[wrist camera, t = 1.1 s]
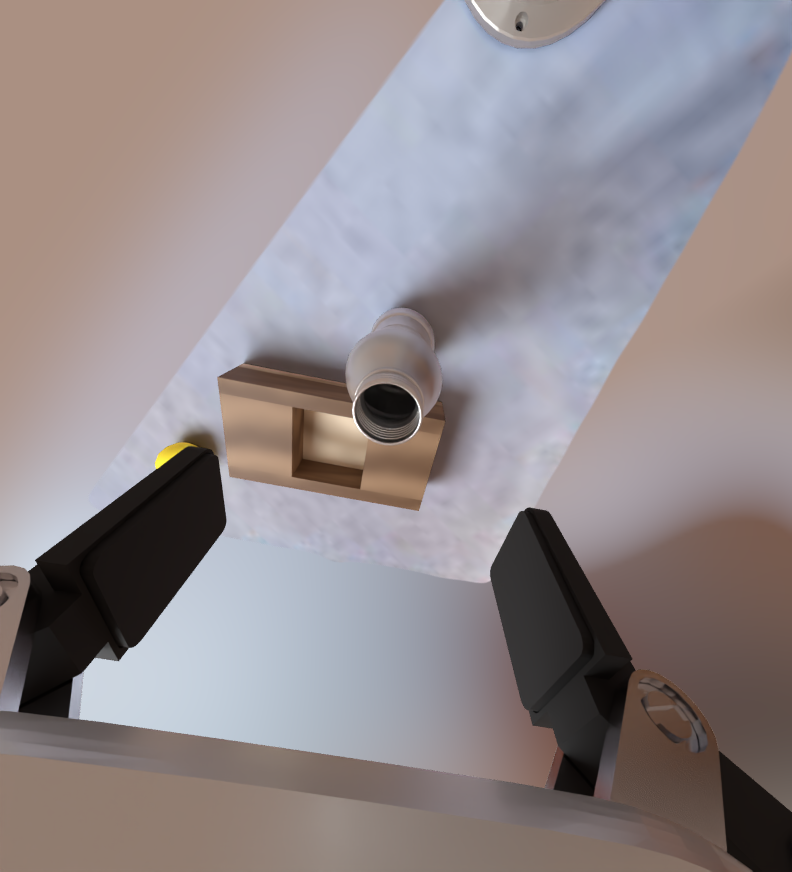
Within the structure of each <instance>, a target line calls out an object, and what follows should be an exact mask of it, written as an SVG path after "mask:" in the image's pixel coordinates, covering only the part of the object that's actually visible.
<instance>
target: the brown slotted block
mask: <svg viewBox="0 0 792 872" xmlns="http://www.w3.org/2000/svg"><path fill="white" fill-rule="evenodd" d="M217 378H218V386H219V394H220V402H221V410H222V419H223V427H224V435H225V443H226V451H227V459H228V467H229V476H230V477H234V478H240V479H245V480H251V481H256V482H262V483H267V484H273V485H278V486H284V487H289V488H295V489H300V490H306V491H311V492H317V493H323V494H328V495H334V496H339V497H345V498H350V499H356V500H361V501H367V502H372V503H378V504H383V505H389V506H394V507H400V508H406V509H411V510H417V511H419V508H420V505H421V502H422V498H423V495H424V492H425V488H426V485H427V481H428V478H429V475H430V471H431V468H432V465H433V461H434V458H435V454H436V451H437V448H438V444H439V441H440V438H441V434H442V431H443V427H444V424H445V416H444V411H443V406H442V402H439V401H437V402H436V404H435V405H434V406H433V408H432V409H431V410H430V411H429V413H428V414H427V415H425V416H424V417H423V420H422V424H421V427H420V429H419V431H418V432H417V433H416V435H415V436H414V437H413V438H411V439H410V440H409V441H407V442H405V443H402V444H399V445H393V446H390V445H382V444H378V443H375V442H373V441H371V440H370V439H368V438H366V437H365V436H364V435H363V434H362V433H361V432H360V431H359V429H358V428H357V426H356V424H355V422H354V419H353V413H352V406H353V401H352V399H351V397H350V395H349V392H348V389H347V385H346V383H341V382H336V381H331V380H326V379H321V378H316V377H310V376H305V375H300V374H295V373H290V372H285V371H280V370H274V369H269V368H264V367H259V366H254V365H249V364H244V363H243V364H241V365H239V366H238V367H236V368H234V369H232V370H230V371H228V372H226V373H224V374H223V375H221V376H219V377H217Z"/></svg>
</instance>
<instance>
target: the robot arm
mask: <svg viewBox="0 0 792 872" xmlns="http://www.w3.org/2000/svg"><path fill="white" fill-rule="evenodd" d="M604 1H605V0H465V2H466V4H467V6H468V8H469V9H470V11H471V13H472V15H473V16H474V18H475V20H476V21H477V22H478V23H479V24H480V25H481V27H482V28H483V29H484V30H485V31H486V32H487V33H488V34H489V35H490V36H492V37H493V38H495V39H496V40H498V41H499V42H501V43H503V44H506V45H509V46H512V47H515V48H533V49H534V48H538V47H542V46H546V45H550V44H553V43H554V42H556V41H558V40H560V39H562V38H564V37H566V36H568V35H570V34H571V33H572V32H573V31H575V30H576V29H577V28H578V27H580V26H581V25H582V24H583V23H585V22H586V21H587V20H588V19H589V18H590V17H591V16H592V15H593V13H594V12H595V11H596V10H597V9H598V8H599V7H600V6H601V5H602V4H603V3H604ZM516 26H520V27H521V31H518V30H516ZM225 526H226V513H225V505H224V498H223V490H222V482H221V475H220V467H219V460H218V457H217V456H216V455H214V454H213V452H212V450H210V449H206V448H200V447H195V446H188V447H186V448H184V449H183V450H181V451H180V452H179V453H177V454H176V455H175V456H173V457H172V458H171V459H169V460H168V461H167V462H165V463H164V464H163V465H161V466H160V467H159V468H157V469H156V470H155V471H153V472H152V473H151V474H149V475H148V476H147V477H145V478H144V479H143V480H141V481H140V482H139V483H137V484H136V485H135V486H133V487H132V488H131V489H129V490H128V491H127V492H125V493H124V494H123V495H121V496H120V497H119V498H117V499H116V500H115V501H113V502H112V503H111V504H109V505H108V506H107V507H105V508H104V509H103V510H101V511H100V512H99V513H98V514H96V515H95V516H94V517H92V518H91V519H89V520H88V521H87V522H85V523H84V524H83V525H81V526H80V527H79V528H77V529H76V530H75V531H73V532H72V533H71V534H69V535H68V536H67V537H66V538H64V539H63V540H62V541H60V542H59V543H57V544H56V545H55V546H53V547H52V548H51V549H49V550H48V551H47V552H45V553H44V554H43V555H41V556H40V557H39V558H37V559H36V560H35V561H36V562H37V565H36V566H35V567H33V568H32V569H31V570H29V571H28V572H27V571H26V570H25V569H24V568H21V567H17V566H0V872H792V812H791V811H790V810H788V809H787V808H786V807H785V806H784V805H782V804H781V803H780V802H779V801H778V800H777V799H775V798H774V797H773V796H772V795H771V794H769V793H768V792H767V791H766V790H765V789H764V788H762V787H761V786H760V785H759V784H758V783H756V782H755V781H754V780H753V779H752V778H751V777H749V776H748V775H747V774H746V773H745V772H743V771H742V770H741V769H740V768H739V767H738V766H736V765H735V764H734V763H733V762H732V761H730V760H729V759H728V758H727V757H726V756H725V755H723V754H722V753H721V752H720V751H719V749H718V745H717V741H716V737H715V735H714V733H713V731H712V729H711V727H710V725H709V723H708V721H707V719H706V718H705V717H704V715H703V714H702V713H701V711H700V710H699V708H698V707H697V706H696V705H695V703H693V701H692V700H691V699H690V698H689V697H688V696H687V695H686V694H685V693H684V692H683V691H682V690H681V689H679V688H678V687H677V686H676V685H675V684H674V683H673V682H671V681H670V680H668V679H666V678H665V677H663V676H662V675H660V674H658V673H655V672H653V671H650V670H643V669H638V670H635V669H634V667H633V665H632V663H631V662H630V661H631V660H632V657H631V655H630V654H629V652H628V650H627V648H626V646H625V645H624V643H623V641H622V639H621V638H620V636H619V634H618V632H617V631H616V629H615V627H614V625H613V624H612V622H611V620H610V618H609V616H608V615H607V613H606V611H605V609H604V608H603V606H602V604H601V602H600V601H599V599H598V597H597V595H596V593H595V592H594V590H593V588H592V586H591V585H590V583H589V581H588V579H587V578H586V576H585V574H584V572H583V571H582V569H581V567H580V566H579V564H578V562H577V560H576V558H575V556H574V555H573V553H572V551H571V549H570V548H569V546H568V544H567V542H566V540H565V539H564V537H563V535H562V533H561V532H560V530H559V528H558V526H557V525H556V523H555V521H554V519H553V518H552V516H551V514H550V513H549V512H548V511H546V510H540V509H535V508H527V509H525V511H521V512H519V514H518V516H517V518H516V520H515V522H514V523H513V525H512V527H511V529H510V531H509V533H508V535H507V537H506V539H505V541H504V543H503V545H502V547H501V549H500V551H499V553H498V555H497V556H496V558H495V560H494V562H493V564H492V566H491V570H490V577H491V582H492V586H493V590H494V593H495V598H496V602H497V606H498V610H499V614H500V617H501V622H502V626H503V630H504V634H505V638H506V642H507V646H508V650H509V654H510V658H511V662H512V666H513V670H514V674H515V678H516V682H517V686H518V690H519V694H520V698H521V701H522V704H523V706H524V708H525V709H527V710H529V713H530V717H531V721H532V724H533V725H534V726H540V727H546V728H553V730H554V734H555V737H556V740H557V743H558V746H557V749H556V752H555V756H554V759H553V762H552V766H551V769H550V772H549V775H548V778H547V782H546V785H545V788H540V787H534V786H528V785H523V784H517V783H511V782H504V781H497V780H491V779H485V778H478V777H472V776H466V775H459V774H452V773H446V772H439V771H433V770H426V769H420V768H413V767H407V766H400V765H394V764H387V763H380V762H373V761H367V760H359V759H353V758H346V757H340V756H333V755H326V754H319V753H312V752H306V751H299V750H291V749H285V748H279V747H271V746H265V745H258V744H251V743H244V742H238V741H230V740H224V739H217V738H209V737H202V736H195V735H188V734H181V733H174V732H167V731H160V730H153V729H145V728H138V727H132V726H125V725H118V724H111V723H104V722H96V721H88V720H79V716H80V706H81V695H82V694H81V693H82V684H83V674H84V673H83V672H84V670H85V669H86V668H87V666H88V665H89V664H90V663H91V662H92V660H93V659H94V658H101V659H107V660H114V661H119V660H120V659H121V657H122V656H123V655H124V654H125V652H126V651H127V650H128V648H132V647H134V646H136V645H137V644H138V643H139V642H140V641H141V640H142V639H143V637H144V636H145V635H146V633H147V632H148V630H149V629H150V628H151V627H152V625H153V624H154V623H155V621H156V620H157V619H158V617H159V616H160V615H161V613H162V612H163V611H164V609H165V608H166V607H167V605H168V604H169V603H170V601H171V600H172V599H173V597H174V596H175V595H176V593H177V592H178V591H179V589H180V588H181V587H182V585H183V584H184V583H185V581H186V580H187V579H188V577H189V576H190V575H191V573H192V572H193V571H194V569H195V568H196V567H197V565H198V564H199V563H200V561H201V560H202V559H203V557H204V556H205V555H206V553H207V552H208V551H209V549H210V548H211V547H212V545H213V544H214V543H215V541H216V540H217V539H218V537H219V536H220V535H221V533H222V532H223V530H224V528H225Z"/></svg>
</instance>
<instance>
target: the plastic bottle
mask: <svg viewBox="0 0 792 872" xmlns="http://www.w3.org/2000/svg"><path fill="white" fill-rule="evenodd" d="M434 347H435V339H434V333H433V330H432V327H431V326H430V324H429V322H428V321H427V320H426V319H425V318H424V316H422V315H421V314H420V313H418V312H416V311H414V310H412V309H408V308H394V309H391V310H389V311H386V312H385V313H383V314H382V315H381V316H380V317H379V318H378V319H377V320H376V322H375V324H374V326H373V328H372V331H371V333H370V334H368V335H367V336H365V337H364V338H362V339H361V340H360V341H359V342H358V343H357V344H356V345H355V346H354V347H353V349H352V351H351V353H350V354H349V357H348V360H347V363H346V370H345V377H346V385H347V389H348V392H349V395H350V397H351V399H352V401H353V406H352V413H353V419H354V422H355V424H356V426H357V428H358V429H359V431H360V432H361V433H362V434H363V435H364V436H365V437H366V438H368V439H370V440H371V441H373V442H375V443H378V444H382V445H390V446H393V445H399V444H402V443H405V442H407V441H409V440H410V439H411V438H413V437H414V436H415V435H416V433H417V432H418V431H419V429H420V427H421V424H422V420H423V417H424V416H425V415H427V414H428V413H429V411H430V410H431V409H432V408H433V406H434V405H435V404H436V402H437V400H438V398H439V396H440V392H441V389H442V378H443V377H442V370H441V366H440V363H439V361H438V358H437V356H436V354H435V353H434Z"/></svg>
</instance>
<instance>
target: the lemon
mask: <svg viewBox="0 0 792 872" xmlns="http://www.w3.org/2000/svg"><path fill="white" fill-rule="evenodd" d="M188 446H195V447H198V446H196V445H193V444H190V443H184V442H178V443H176V444H173V445H170V446H168V447H166V448H165V449H164V450H162V451H161V452H160V453H159V454H158V457H157V459H156V462H155V466H156V469H157V468H159V467H160V466H161V465H163V464H164V463H165V462H167V461H168V460H169V459H171V458H172V457H173V456H175V455H176V454H177V453H179V452H180V451H181V450H183V449H184V448H186V447H188Z"/></svg>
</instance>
